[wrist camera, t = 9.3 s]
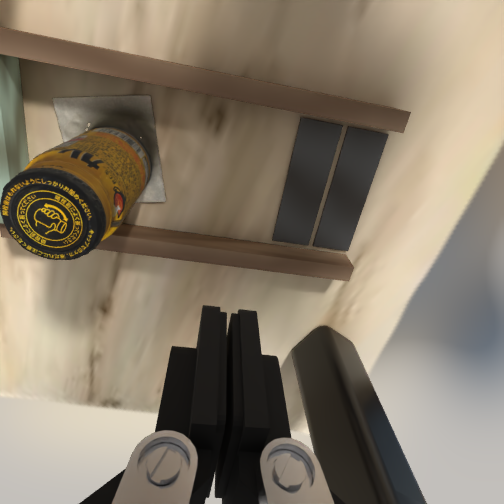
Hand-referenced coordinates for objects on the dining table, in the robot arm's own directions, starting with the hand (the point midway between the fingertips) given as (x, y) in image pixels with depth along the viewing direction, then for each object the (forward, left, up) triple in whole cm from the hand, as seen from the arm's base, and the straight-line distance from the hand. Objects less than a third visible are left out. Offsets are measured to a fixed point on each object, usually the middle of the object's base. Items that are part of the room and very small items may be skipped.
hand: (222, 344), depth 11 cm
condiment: (0, -9, -22) cm, 23 cm away
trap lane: (0, -2, -21) cm, 21 cm away
